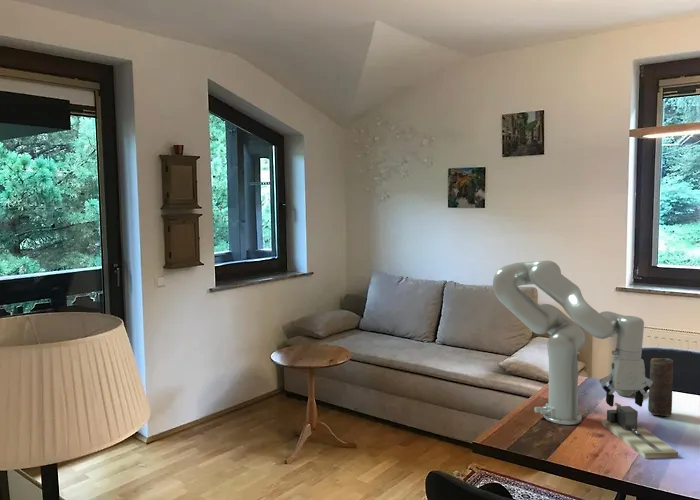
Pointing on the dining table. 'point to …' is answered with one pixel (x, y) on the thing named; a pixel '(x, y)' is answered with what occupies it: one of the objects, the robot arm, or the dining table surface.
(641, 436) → the rail board
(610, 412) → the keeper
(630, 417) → the dark grey block
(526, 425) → the dining table surface
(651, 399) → the candle
